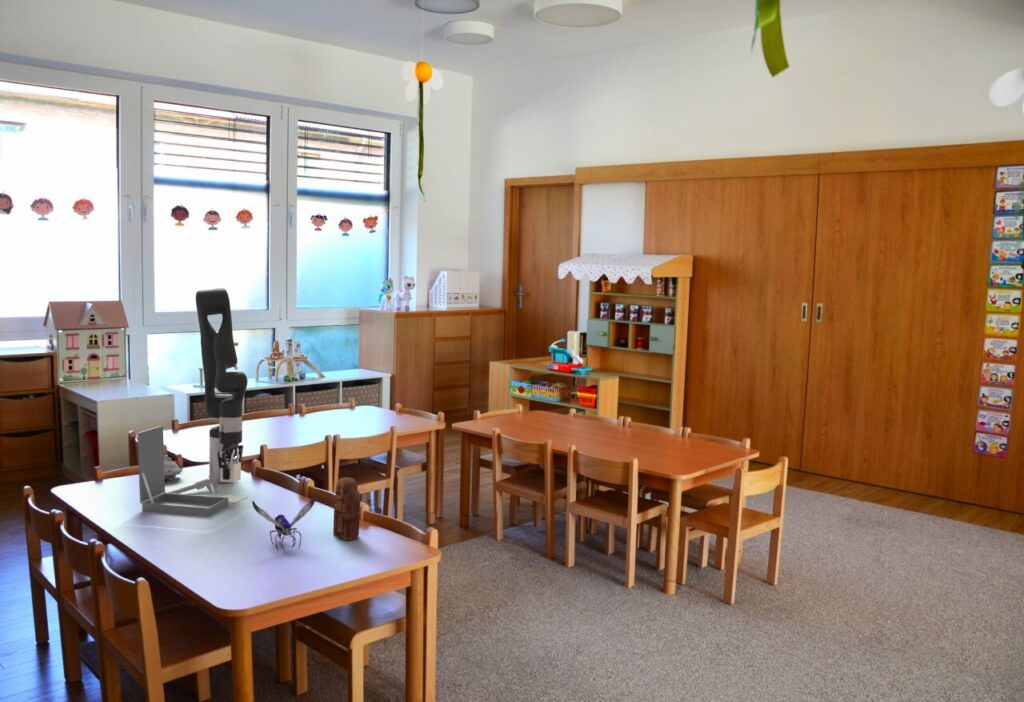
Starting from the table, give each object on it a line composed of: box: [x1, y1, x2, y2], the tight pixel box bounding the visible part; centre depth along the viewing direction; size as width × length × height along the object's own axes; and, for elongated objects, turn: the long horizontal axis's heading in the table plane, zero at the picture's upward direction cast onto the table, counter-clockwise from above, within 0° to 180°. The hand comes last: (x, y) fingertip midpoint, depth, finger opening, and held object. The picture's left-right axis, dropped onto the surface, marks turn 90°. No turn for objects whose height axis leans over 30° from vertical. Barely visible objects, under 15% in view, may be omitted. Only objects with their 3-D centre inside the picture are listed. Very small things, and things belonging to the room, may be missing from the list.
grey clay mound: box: [164, 454, 183, 481], centre depth 308 cm, size 12×12×11 cm
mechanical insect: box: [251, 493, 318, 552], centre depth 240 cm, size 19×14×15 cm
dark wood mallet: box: [332, 476, 361, 541], centre depth 251 cm, size 12×6×18 cm, turn 37°
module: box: [220, 461, 242, 483], centre depth 283 cm, size 5×5×6 cm
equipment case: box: [137, 425, 229, 517], centre depth 271 cm, size 13×25×26 cm, turn 82°
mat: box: [222, 494, 248, 504], centre depth 284 cm, size 8×8×1 cm
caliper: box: [166, 475, 218, 494], centre depth 290 cm, size 21×1×6 cm, turn 129°
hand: (230, 477), depth 283 cm, fingers closed on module, 5 cm apart
